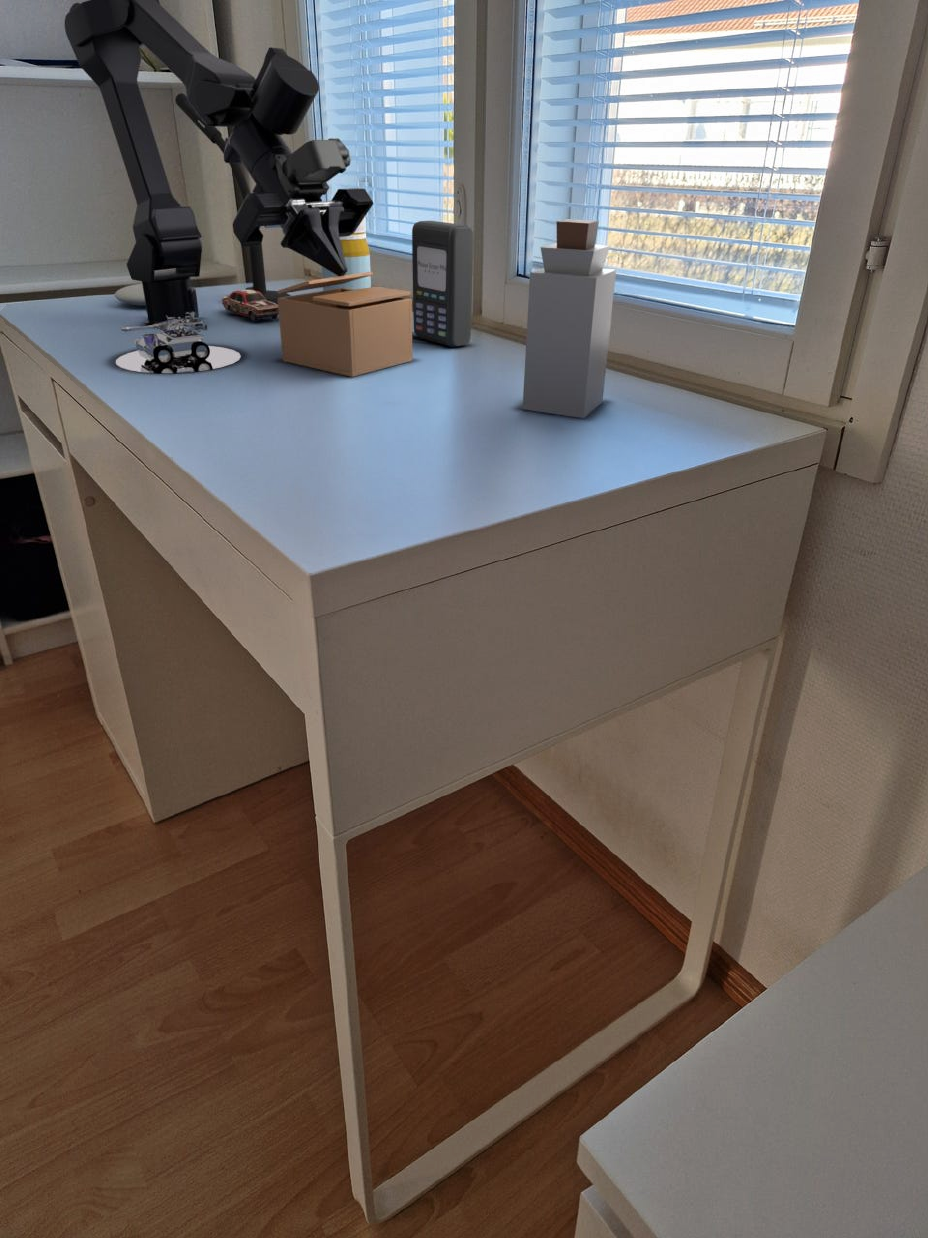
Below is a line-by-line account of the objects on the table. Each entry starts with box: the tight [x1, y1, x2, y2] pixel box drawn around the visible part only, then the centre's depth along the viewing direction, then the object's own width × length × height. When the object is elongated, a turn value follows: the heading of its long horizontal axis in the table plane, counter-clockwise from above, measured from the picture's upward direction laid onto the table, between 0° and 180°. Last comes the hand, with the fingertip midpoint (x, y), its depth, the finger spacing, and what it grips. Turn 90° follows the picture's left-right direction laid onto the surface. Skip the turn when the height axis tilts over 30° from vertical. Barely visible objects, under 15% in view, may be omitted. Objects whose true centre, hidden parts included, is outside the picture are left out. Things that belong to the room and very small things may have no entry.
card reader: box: [411, 220, 475, 348], centre depth 113 cm, size 9×4×15 cm, turn 41°
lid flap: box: [276, 271, 374, 294], centre depth 103 cm, size 6×11×1 cm, turn 143°
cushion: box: [114, 283, 146, 307], centre depth 136 cm, size 12×12×3 cm
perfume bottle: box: [522, 218, 617, 419], centre depth 85 cm, size 7×7×18 cm
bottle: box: [321, 216, 372, 291], centre depth 122 cm, size 7×7×15 cm
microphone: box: [174, 92, 292, 305], centre depth 138 cm, size 12×23×30 cm, turn 28°
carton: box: [278, 286, 413, 378], centre depth 103 cm, size 12×11×8 cm
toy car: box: [115, 309, 242, 374], centre depth 104 cm, size 15×15×5 cm
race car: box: [221, 289, 279, 323], centre depth 128 cm, size 5×12×5 cm, turn 36°
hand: (343, 273), depth 100 cm, fingers closed, pressing on lid flap
